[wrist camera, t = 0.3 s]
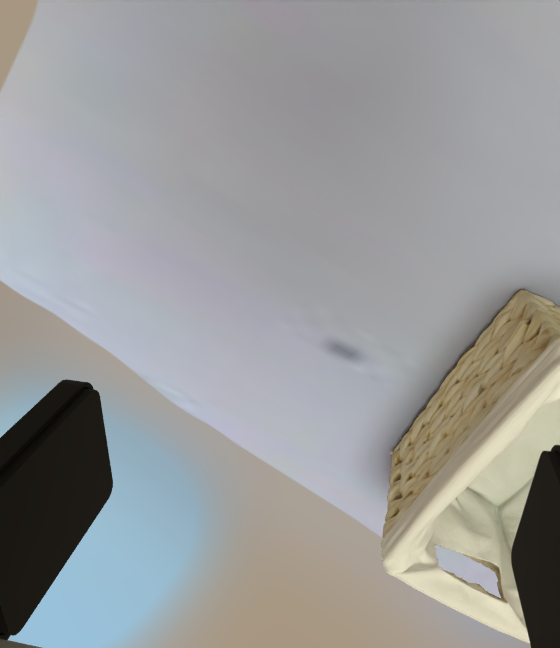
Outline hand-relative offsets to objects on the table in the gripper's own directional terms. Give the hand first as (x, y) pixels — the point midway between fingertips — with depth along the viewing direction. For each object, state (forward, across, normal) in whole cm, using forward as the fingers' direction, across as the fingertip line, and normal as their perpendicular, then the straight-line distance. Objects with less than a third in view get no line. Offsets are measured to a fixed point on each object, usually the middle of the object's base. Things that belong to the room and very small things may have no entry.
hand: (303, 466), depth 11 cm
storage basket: (+36, -16, +21) cm, 45 cm away
